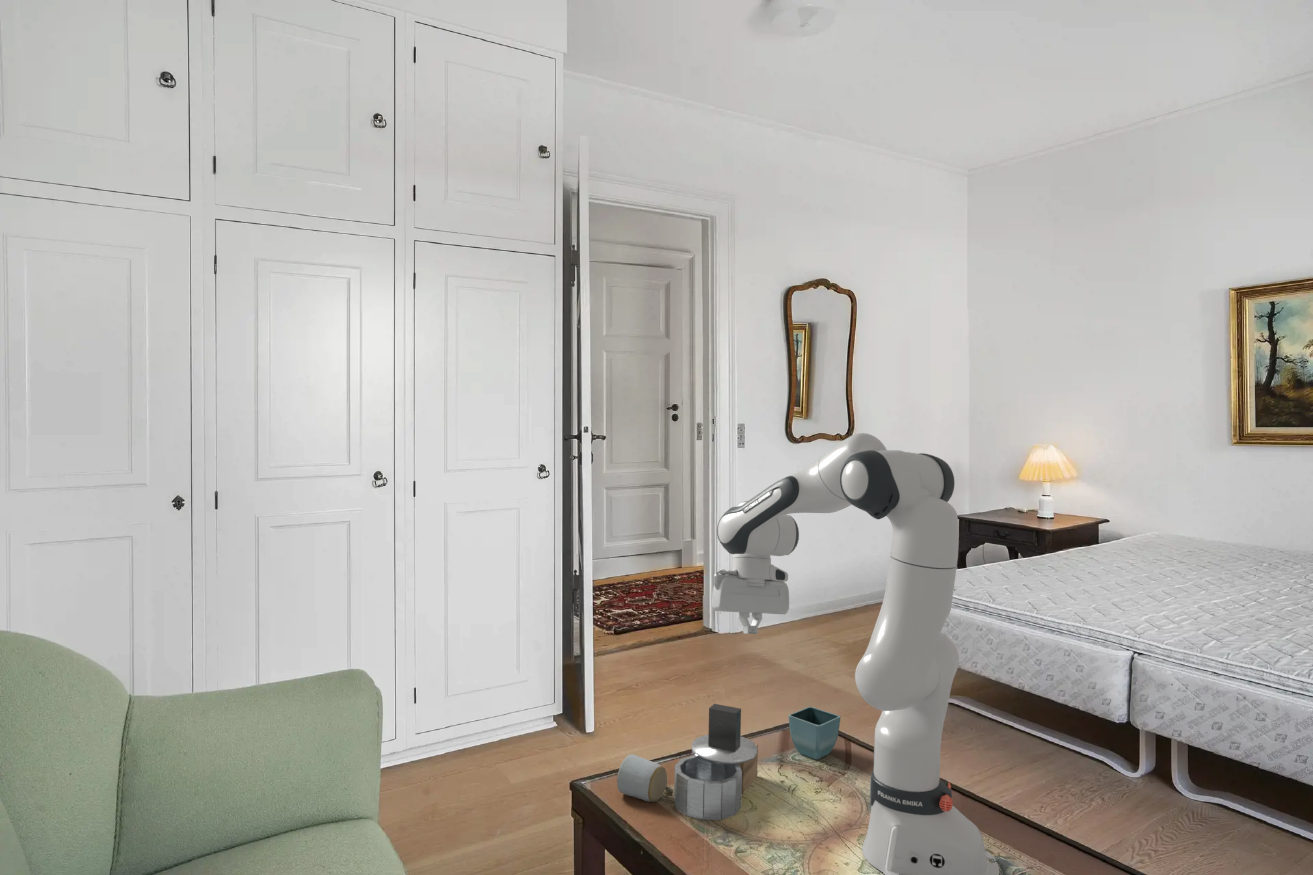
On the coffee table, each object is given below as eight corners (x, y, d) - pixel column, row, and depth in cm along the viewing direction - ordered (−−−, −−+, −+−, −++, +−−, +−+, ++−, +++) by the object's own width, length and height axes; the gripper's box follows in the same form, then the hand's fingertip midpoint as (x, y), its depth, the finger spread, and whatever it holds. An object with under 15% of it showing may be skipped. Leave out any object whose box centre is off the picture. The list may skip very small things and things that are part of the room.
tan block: (757, 775, 168) (757, 744, 168) (743, 793, 160) (743, 760, 160) (713, 766, 172) (714, 735, 172) (697, 783, 164) (698, 750, 164)
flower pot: (786, 753, 180) (787, 714, 180) (809, 742, 186) (810, 705, 186) (818, 765, 174) (818, 725, 173) (840, 754, 180) (841, 716, 179)
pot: (749, 796, 159) (749, 762, 159) (726, 825, 147) (727, 789, 147) (690, 782, 164) (690, 749, 164) (664, 809, 153) (664, 774, 152)
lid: (765, 744, 167) (766, 703, 167) (744, 769, 155) (745, 725, 154) (706, 732, 173) (707, 692, 173) (681, 755, 160) (682, 713, 160)
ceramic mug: (650, 809, 153) (651, 770, 153) (615, 799, 157) (616, 760, 157) (676, 789, 162) (677, 752, 162) (642, 779, 166) (643, 743, 166)
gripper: (723, 568, 172) (721, 633, 169) (793, 574, 182) (793, 635, 179) (706, 569, 177) (704, 631, 174) (775, 574, 187) (775, 634, 184)
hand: (750, 633), depth 177 cm, fingers closed
